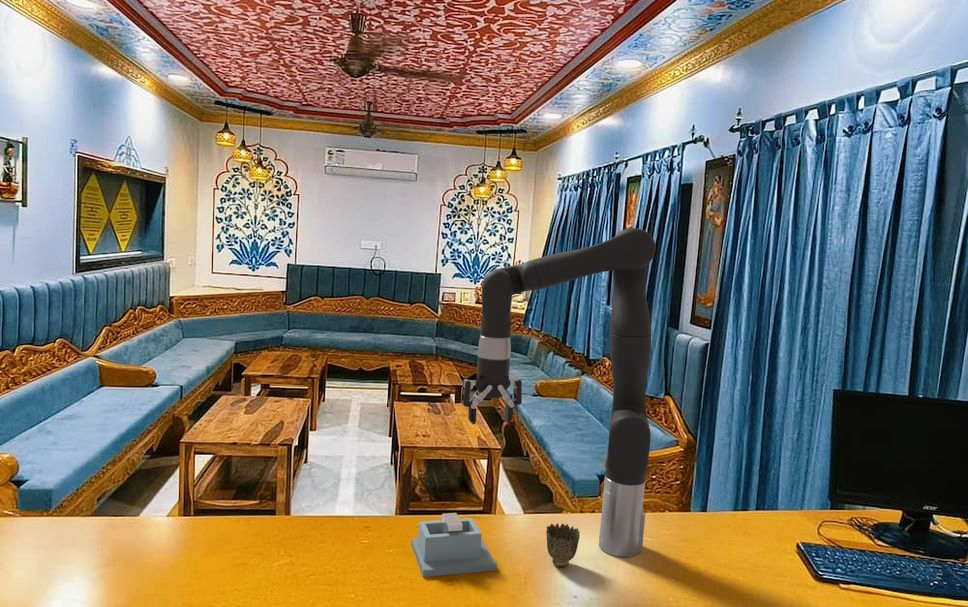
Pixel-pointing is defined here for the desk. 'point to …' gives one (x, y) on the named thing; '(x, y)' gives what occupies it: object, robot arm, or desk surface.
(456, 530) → the grey painted wood block
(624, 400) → the robot arm
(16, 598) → the desk surface
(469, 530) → the well board
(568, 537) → the cup
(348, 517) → the desk surface
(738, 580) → the desk surface
